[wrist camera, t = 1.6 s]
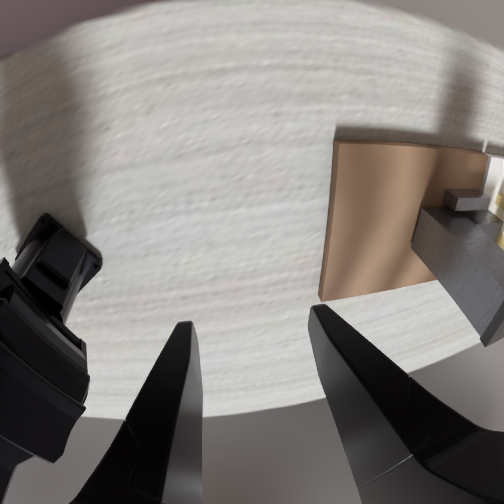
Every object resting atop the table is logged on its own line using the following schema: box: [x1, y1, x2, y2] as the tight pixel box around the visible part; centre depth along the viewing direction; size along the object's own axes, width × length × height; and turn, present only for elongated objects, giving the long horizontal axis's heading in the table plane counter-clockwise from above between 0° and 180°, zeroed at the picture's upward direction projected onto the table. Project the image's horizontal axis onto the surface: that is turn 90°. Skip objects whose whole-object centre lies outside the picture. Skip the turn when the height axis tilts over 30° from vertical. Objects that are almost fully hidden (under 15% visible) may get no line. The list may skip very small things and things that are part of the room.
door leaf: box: [318, 140, 488, 302], centre depth 23 cm, size 16×14×1 cm
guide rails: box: [443, 189, 491, 211], centre depth 22 cm, size 5×7×2 cm
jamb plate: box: [481, 153, 504, 235], centre depth 24 cm, size 9×14×1 cm, turn 2°
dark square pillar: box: [411, 206, 504, 347], centre depth 18 cm, size 10×4×12 cm, turn 92°
